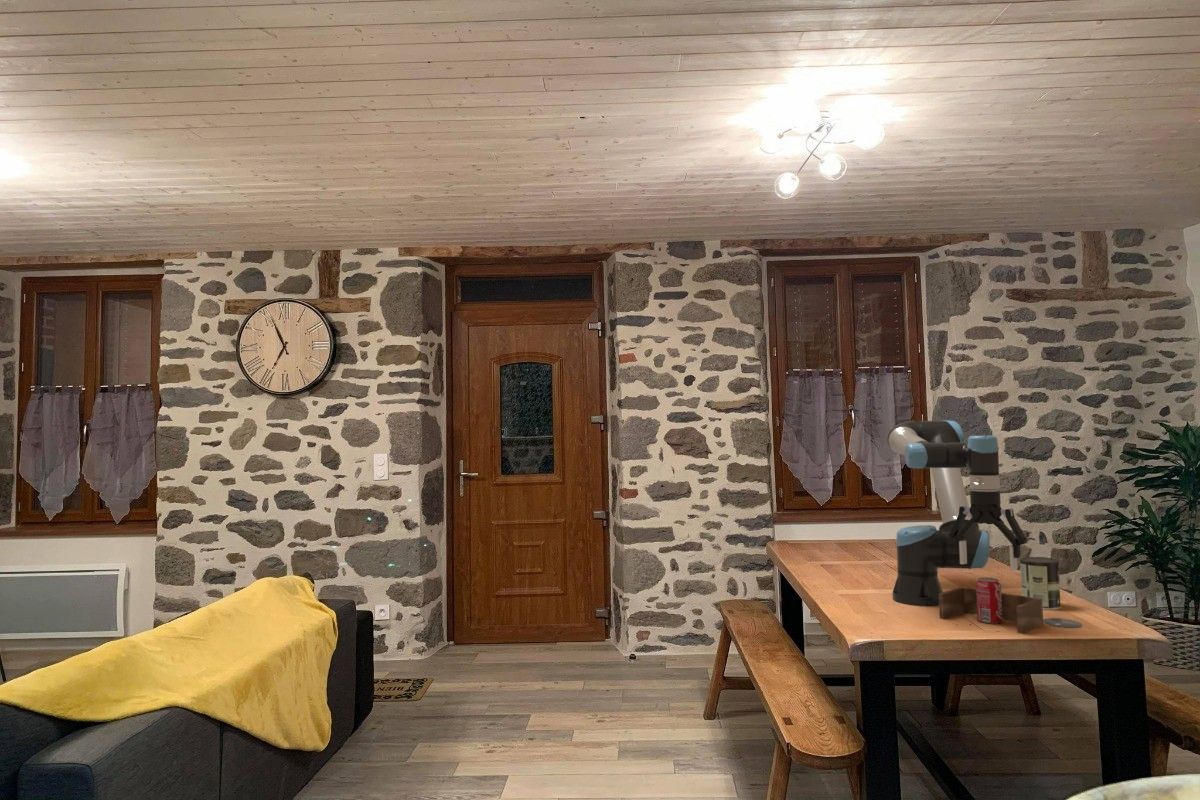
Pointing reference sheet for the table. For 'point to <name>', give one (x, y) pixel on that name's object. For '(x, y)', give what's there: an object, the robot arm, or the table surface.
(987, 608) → the beverage can
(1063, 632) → the table surface
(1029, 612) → the walnut u-shaped barrier
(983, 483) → the robot arm
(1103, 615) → the table surface
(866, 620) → the table surface
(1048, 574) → the coffee can
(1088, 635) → the table surface
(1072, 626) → the slate coaster
